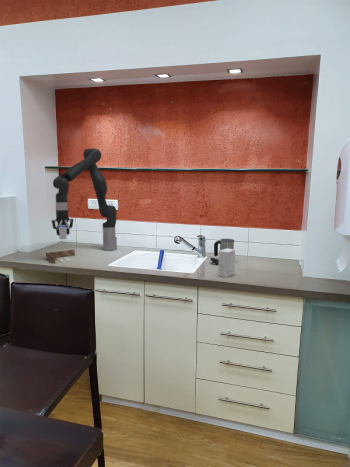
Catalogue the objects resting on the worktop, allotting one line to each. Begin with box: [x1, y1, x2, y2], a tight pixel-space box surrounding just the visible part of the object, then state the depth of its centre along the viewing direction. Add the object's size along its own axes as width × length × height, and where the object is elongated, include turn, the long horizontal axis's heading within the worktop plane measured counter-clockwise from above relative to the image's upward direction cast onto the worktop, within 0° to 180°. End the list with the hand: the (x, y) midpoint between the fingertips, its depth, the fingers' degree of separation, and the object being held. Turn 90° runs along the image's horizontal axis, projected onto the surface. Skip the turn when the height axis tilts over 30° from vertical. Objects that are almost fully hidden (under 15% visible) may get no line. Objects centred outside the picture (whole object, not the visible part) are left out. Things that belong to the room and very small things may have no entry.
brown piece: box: [45, 249, 76, 264], centre depth 229 cm, size 19×15×4 cm
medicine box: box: [59, 225, 68, 240], centre depth 225 cm, size 8×4×9 cm, turn 17°
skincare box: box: [217, 248, 236, 278], centre depth 197 cm, size 8×6×15 cm
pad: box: [55, 256, 73, 263], centre depth 228 cm, size 7×11×1 cm, turn 36°
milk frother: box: [209, 238, 235, 265], centre depth 224 cm, size 14×16×15 cm
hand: (63, 234), depth 226 cm, fingers closed on medicine box, 5 cm apart
